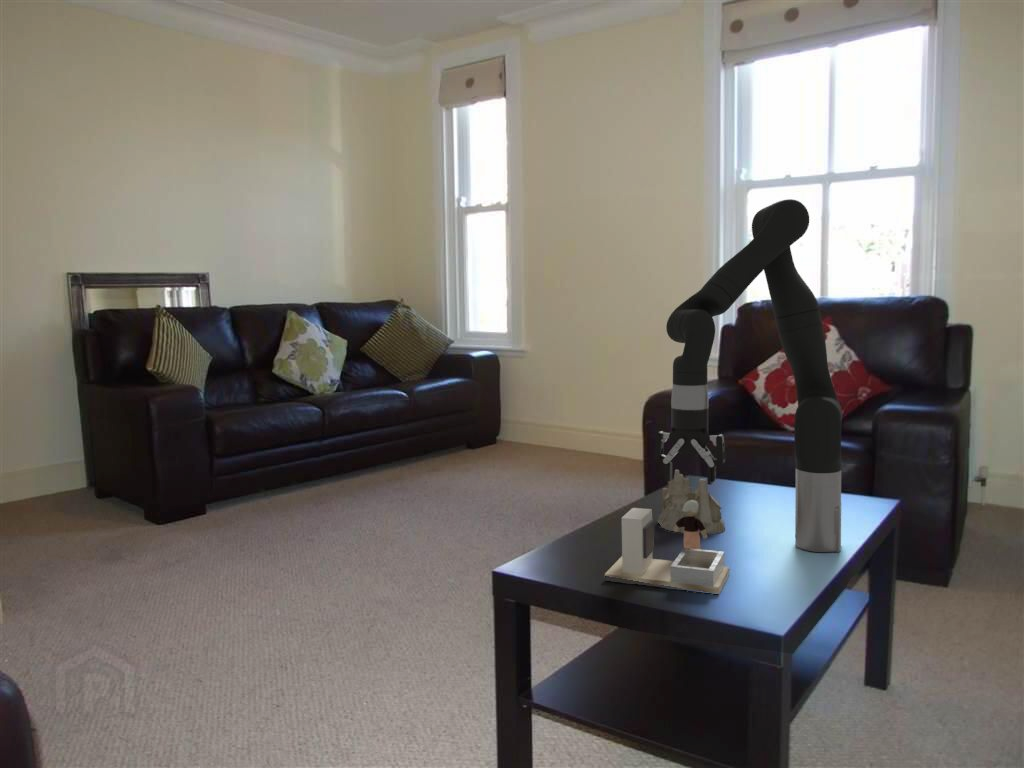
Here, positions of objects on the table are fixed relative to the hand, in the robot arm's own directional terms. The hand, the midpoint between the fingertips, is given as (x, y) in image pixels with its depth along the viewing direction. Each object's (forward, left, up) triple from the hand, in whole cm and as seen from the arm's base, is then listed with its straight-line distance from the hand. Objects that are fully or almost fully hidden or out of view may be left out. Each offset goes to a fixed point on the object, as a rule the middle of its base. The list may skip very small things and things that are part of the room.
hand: (689, 482), depth 166 cm
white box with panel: (+7, +13, -15) cm, 21 cm away
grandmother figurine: (0, 0, -17) cm, 17 cm away
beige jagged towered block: (+5, -25, -17) cm, 31 cm away
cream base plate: (+2, +13, -16) cm, 21 cm away
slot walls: (-4, +13, -15) cm, 20 cm away
